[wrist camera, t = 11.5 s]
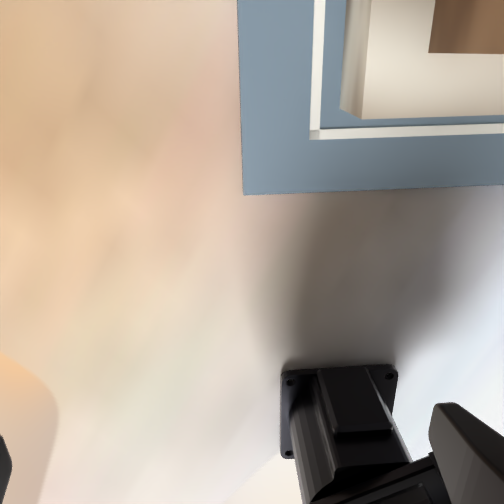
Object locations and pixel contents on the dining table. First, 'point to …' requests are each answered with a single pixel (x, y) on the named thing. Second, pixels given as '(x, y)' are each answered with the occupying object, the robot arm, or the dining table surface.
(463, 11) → the walnut cube
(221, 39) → the dining table surface
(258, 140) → the board
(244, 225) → the dining table surface
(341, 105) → the plinth
